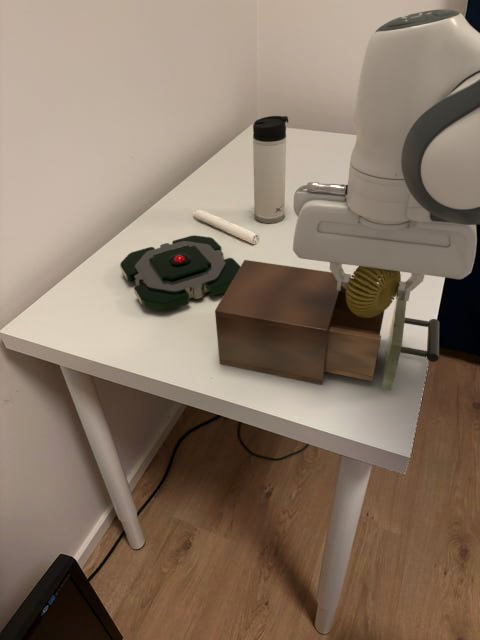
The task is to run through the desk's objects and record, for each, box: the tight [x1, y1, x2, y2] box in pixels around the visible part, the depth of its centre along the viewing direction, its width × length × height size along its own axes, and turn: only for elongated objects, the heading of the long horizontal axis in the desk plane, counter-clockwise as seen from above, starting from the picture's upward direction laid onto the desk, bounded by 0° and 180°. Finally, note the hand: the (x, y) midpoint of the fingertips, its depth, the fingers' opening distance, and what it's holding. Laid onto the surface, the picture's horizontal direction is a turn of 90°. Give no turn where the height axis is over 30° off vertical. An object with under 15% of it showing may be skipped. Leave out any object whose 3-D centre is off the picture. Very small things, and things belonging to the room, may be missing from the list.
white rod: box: [192, 209, 260, 245], centre depth 98 cm, size 18×2×2 cm, turn 46°
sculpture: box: [346, 266, 402, 318], centre depth 60 cm, size 8×4×8 cm, turn 128°
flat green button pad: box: [119, 234, 241, 311], centre depth 84 cm, size 18×18×5 cm
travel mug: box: [252, 115, 289, 224], centre depth 95 cm, size 6×7×20 cm
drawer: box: [324, 291, 440, 391], centre depth 65 cm, size 18×11×8 cm, turn 72°
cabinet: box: [214, 259, 340, 385], centre depth 68 cm, size 15×13×10 cm
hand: (372, 293), depth 61 cm, fingers closed on sculpture, 6 cm apart
